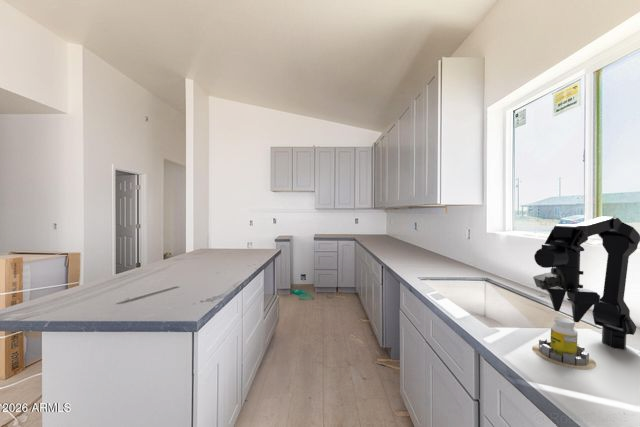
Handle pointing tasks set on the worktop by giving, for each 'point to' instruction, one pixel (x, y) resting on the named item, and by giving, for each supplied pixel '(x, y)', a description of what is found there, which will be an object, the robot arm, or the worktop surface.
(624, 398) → the worktop surface
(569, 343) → the pill bottle
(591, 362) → the flange plate
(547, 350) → the castellated collar
